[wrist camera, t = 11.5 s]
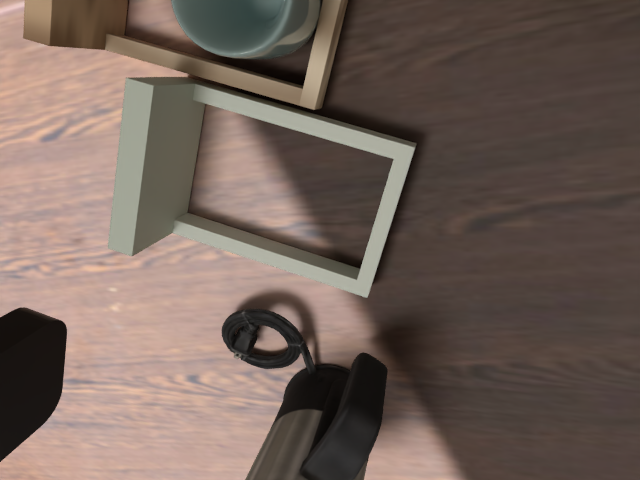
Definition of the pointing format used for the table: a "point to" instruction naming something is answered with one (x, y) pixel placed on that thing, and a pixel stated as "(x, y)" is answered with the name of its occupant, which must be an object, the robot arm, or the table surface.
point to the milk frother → (312, 407)
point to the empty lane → (179, 164)
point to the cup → (248, 25)
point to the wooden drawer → (108, 34)
